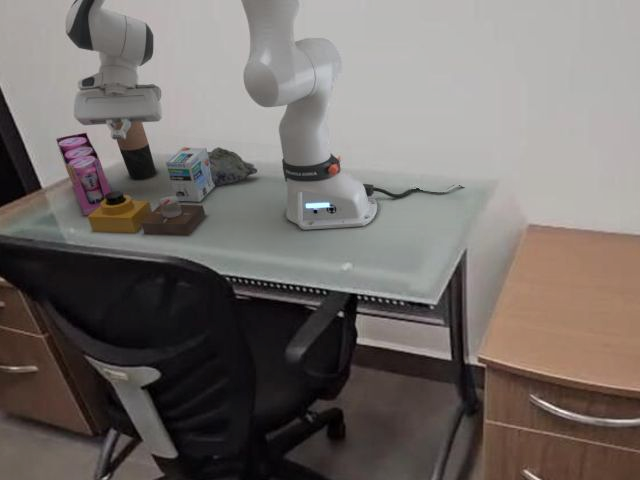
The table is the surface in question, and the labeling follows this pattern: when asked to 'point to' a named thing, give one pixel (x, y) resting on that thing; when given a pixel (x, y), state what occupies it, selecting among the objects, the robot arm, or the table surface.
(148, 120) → the robot arm
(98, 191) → the gum box
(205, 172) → the light bulb box
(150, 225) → the dial panel
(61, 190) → the table surface
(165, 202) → the knob
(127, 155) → the travel mug
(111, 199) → the button
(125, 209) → the control box
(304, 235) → the table surface
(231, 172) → the mineral rock
